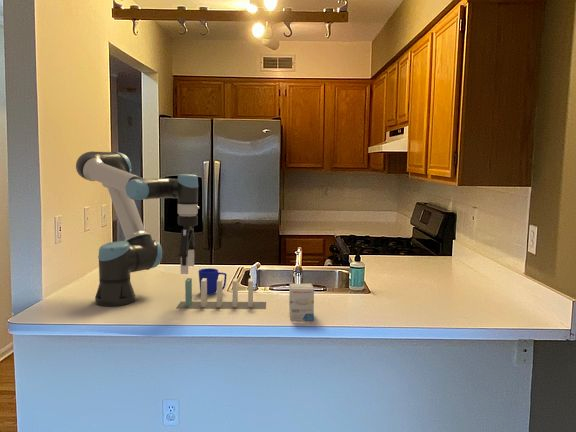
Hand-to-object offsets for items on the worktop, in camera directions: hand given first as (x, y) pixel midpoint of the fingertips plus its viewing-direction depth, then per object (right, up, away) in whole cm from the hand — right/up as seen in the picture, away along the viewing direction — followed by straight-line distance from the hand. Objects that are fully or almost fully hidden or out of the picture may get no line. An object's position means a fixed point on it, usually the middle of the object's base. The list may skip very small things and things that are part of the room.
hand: (187, 269), depth 199 cm
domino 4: (+24, -14, +2) cm, 28 cm away
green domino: (0, -14, +1) cm, 14 cm away
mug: (+7, -12, +20) cm, 25 cm away
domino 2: (+12, -14, +1) cm, 18 cm away
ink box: (+43, -16, -12) cm, 48 cm away
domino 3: (+18, -14, +2) cm, 23 cm away
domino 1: (+6, -14, +1) cm, 15 cm away
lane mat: (+13, -14, +2) cm, 19 cm away
